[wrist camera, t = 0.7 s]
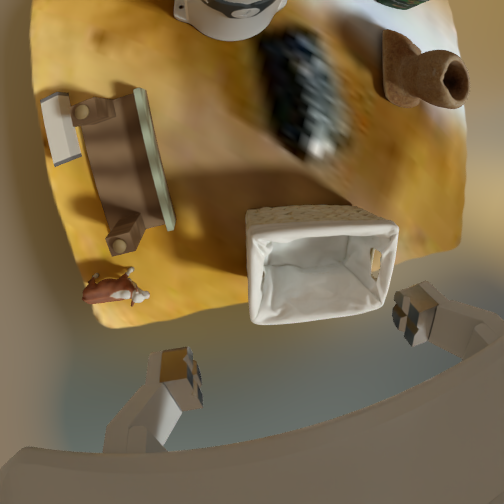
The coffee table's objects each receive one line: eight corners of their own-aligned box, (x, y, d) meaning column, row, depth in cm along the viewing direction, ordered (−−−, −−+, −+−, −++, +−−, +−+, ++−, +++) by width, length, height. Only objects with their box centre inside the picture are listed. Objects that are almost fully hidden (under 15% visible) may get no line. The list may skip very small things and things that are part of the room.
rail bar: (52, 100, 38) (40, 100, 34) (68, 93, 38) (57, 91, 34) (65, 162, 43) (54, 167, 39) (81, 156, 44) (71, 160, 40)
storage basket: (239, 282, 59) (250, 330, 45) (236, 201, 52) (248, 232, 39) (351, 271, 62) (384, 311, 49) (361, 197, 55) (404, 224, 42)
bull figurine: (155, 284, 56) (149, 308, 49) (93, 288, 54) (81, 312, 47) (151, 263, 54) (144, 286, 47) (87, 269, 52) (73, 291, 45)
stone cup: (423, 113, 49) (475, 120, 35) (376, 102, 47) (428, 103, 34) (423, 46, 42) (474, 40, 29) (376, 30, 41) (425, 14, 27)
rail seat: (81, 112, 40) (52, 113, 30) (146, 90, 41) (130, 83, 31) (114, 234, 50) (96, 262, 41) (176, 219, 51) (170, 244, 41)
